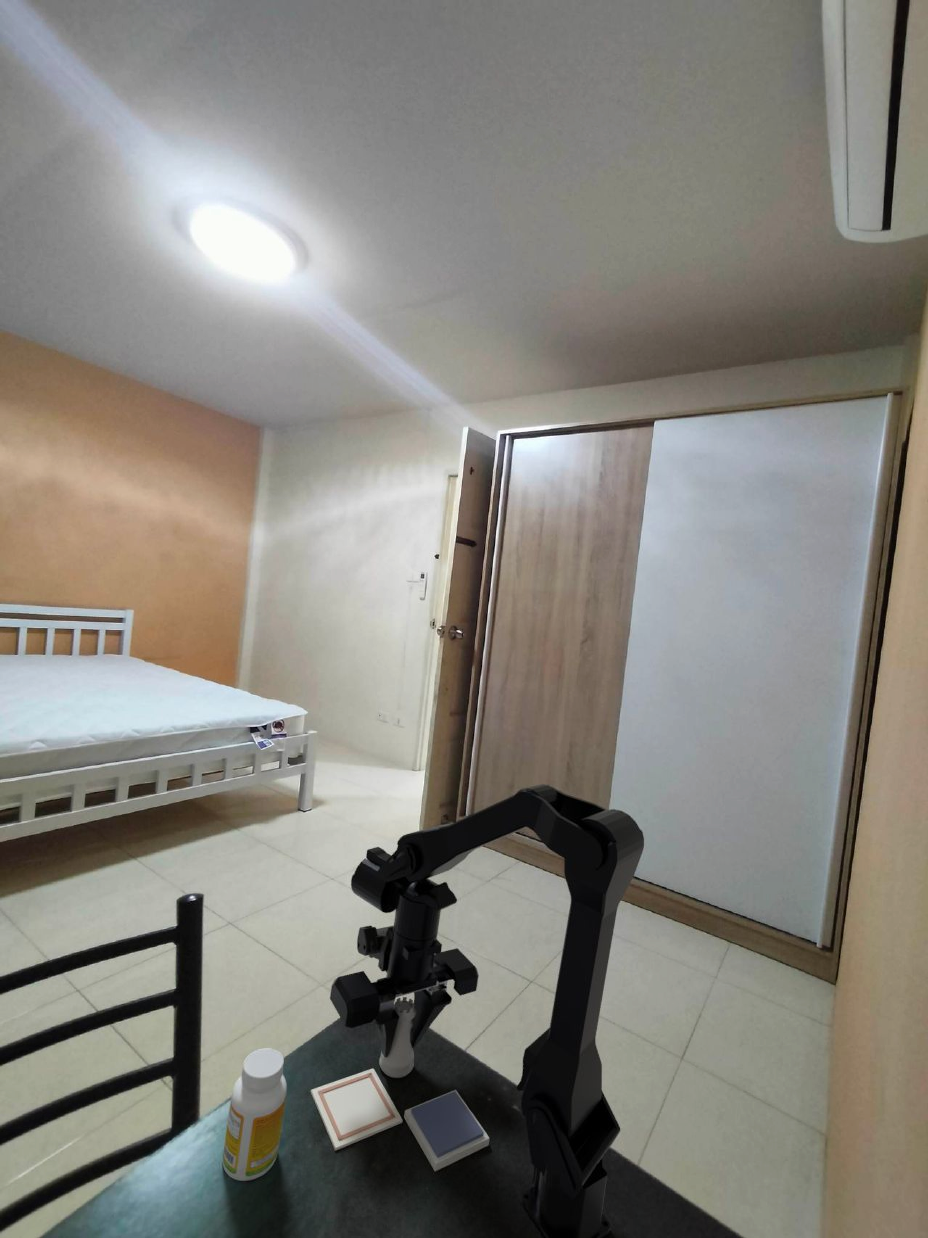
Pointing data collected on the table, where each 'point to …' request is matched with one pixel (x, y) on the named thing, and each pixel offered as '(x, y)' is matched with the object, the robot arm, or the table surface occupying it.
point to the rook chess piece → (400, 1042)
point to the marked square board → (355, 1108)
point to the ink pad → (446, 1129)
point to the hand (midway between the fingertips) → (398, 1050)
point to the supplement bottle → (255, 1116)
